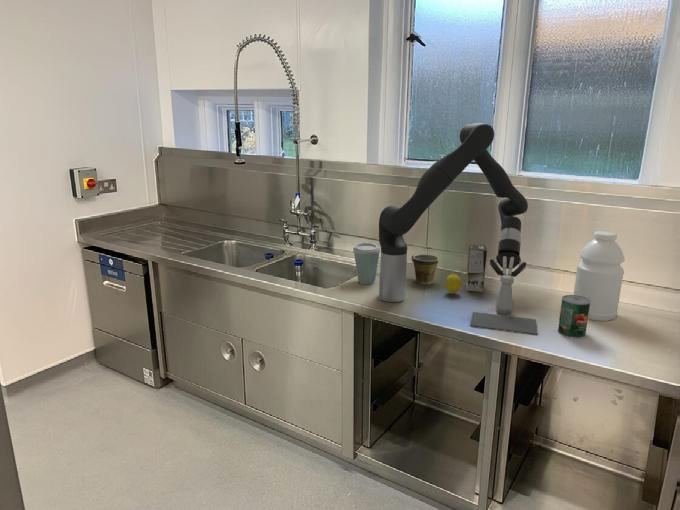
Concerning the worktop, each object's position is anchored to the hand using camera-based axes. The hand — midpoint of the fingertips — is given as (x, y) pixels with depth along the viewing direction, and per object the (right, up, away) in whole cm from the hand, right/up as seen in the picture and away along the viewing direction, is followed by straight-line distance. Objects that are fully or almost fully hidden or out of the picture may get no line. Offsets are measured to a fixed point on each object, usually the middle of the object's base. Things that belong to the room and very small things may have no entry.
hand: (506, 285), depth 181 cm
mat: (-5, -11, -14) cm, 19 cm away
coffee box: (-6, -2, +20) cm, 21 cm away
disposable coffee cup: (-48, 0, +25) cm, 54 cm away
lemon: (-16, -4, +12) cm, 21 cm away
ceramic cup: (-25, 0, +27) cm, 37 cm away
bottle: (+28, -9, -5) cm, 30 cm away
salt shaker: (-2, -9, -5) cm, 11 cm away
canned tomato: (+14, -14, -21) cm, 28 cm away
